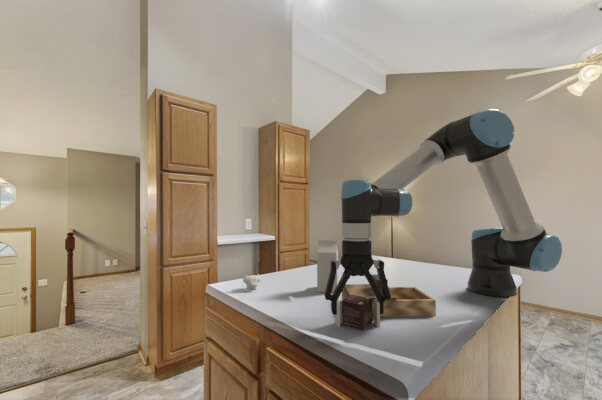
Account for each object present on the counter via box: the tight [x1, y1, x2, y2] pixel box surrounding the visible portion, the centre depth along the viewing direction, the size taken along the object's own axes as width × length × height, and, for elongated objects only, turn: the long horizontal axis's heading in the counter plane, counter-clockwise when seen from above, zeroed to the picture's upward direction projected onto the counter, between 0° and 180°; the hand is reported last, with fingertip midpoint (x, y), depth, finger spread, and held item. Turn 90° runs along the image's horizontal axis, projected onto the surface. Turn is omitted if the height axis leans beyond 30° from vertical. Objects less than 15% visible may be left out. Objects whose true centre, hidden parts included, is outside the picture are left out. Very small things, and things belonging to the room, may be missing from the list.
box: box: [341, 295, 373, 332], centre depth 74 cm, size 6×6×7 cm
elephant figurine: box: [242, 273, 261, 291], centre depth 111 cm, size 7×8×6 cm
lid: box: [344, 274, 396, 301], centre depth 87 cm, size 12×15×5 cm
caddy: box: [341, 286, 437, 317], centre depth 87 cm, size 24×14×5 cm, turn 91°
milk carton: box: [316, 239, 339, 293], centre depth 107 cm, size 7×7×19 cm
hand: (357, 326), depth 74 cm, fingers open, 9 cm apart
